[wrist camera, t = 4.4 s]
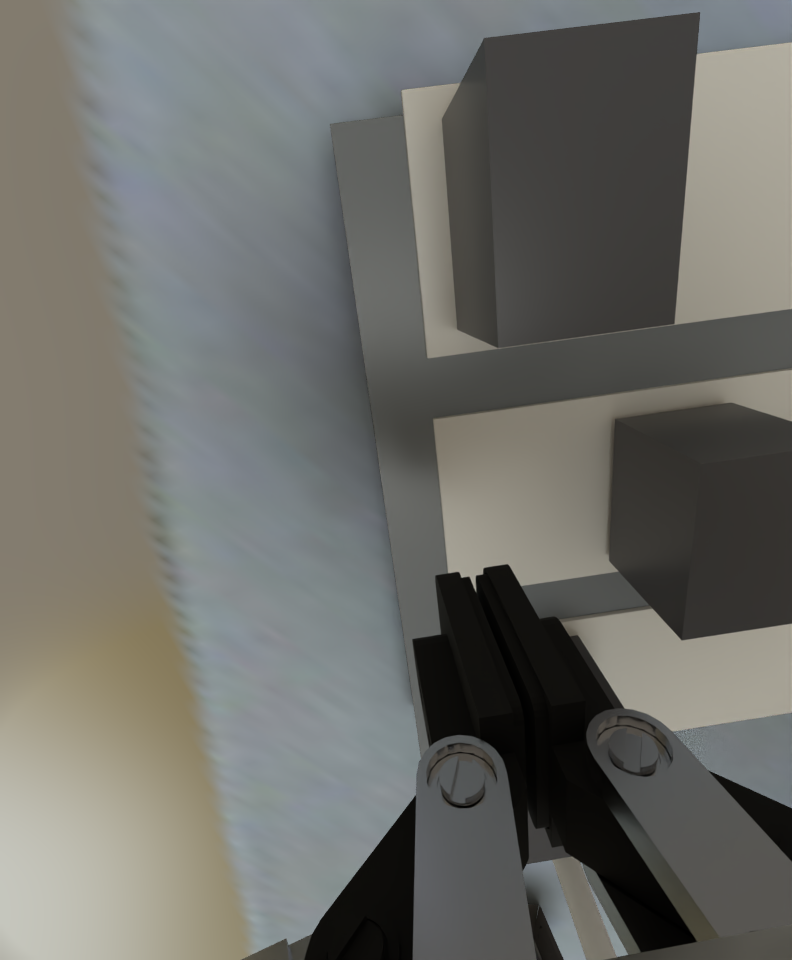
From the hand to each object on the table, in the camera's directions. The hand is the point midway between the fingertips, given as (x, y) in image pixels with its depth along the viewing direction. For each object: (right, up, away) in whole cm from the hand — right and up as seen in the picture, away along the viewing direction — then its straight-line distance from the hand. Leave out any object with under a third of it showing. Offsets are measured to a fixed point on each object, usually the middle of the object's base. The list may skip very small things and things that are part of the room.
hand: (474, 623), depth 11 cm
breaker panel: (+8, +4, +10) cm, 13 cm away
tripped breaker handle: (+8, +3, +6) cm, 11 cm away
